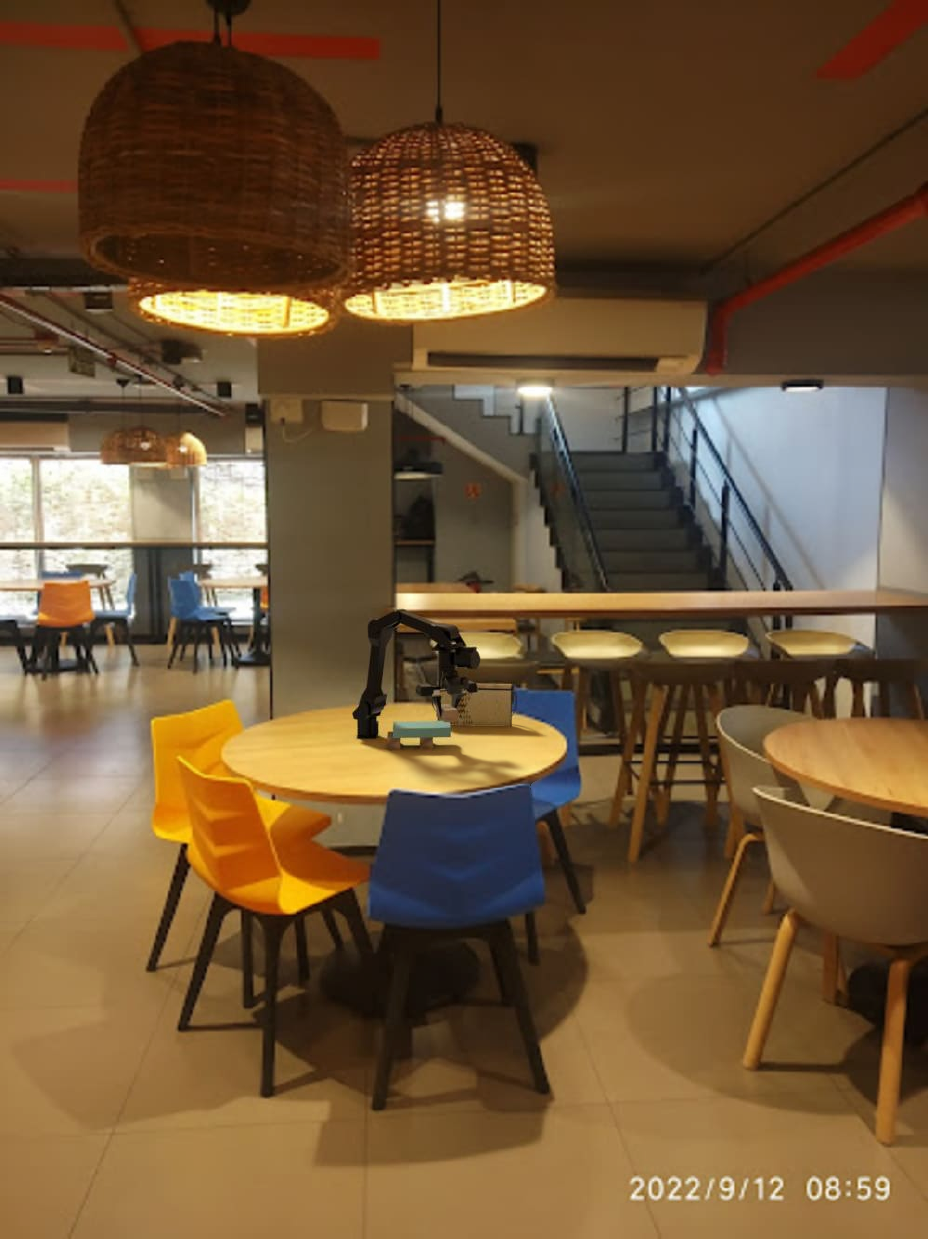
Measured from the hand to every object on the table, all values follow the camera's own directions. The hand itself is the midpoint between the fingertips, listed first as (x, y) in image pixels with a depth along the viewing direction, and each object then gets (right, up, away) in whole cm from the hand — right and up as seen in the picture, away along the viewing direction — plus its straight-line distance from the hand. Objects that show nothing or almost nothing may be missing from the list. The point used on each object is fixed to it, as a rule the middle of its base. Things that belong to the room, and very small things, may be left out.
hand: (446, 715), depth 276 cm
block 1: (-17, -11, +5) cm, 20 cm away
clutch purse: (+9, -7, +34) cm, 36 cm away
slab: (-8, -6, +5) cm, 11 cm away
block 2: (-7, -10, +6) cm, 14 cm away
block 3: (0, -1, 0) cm, 1 cm away
